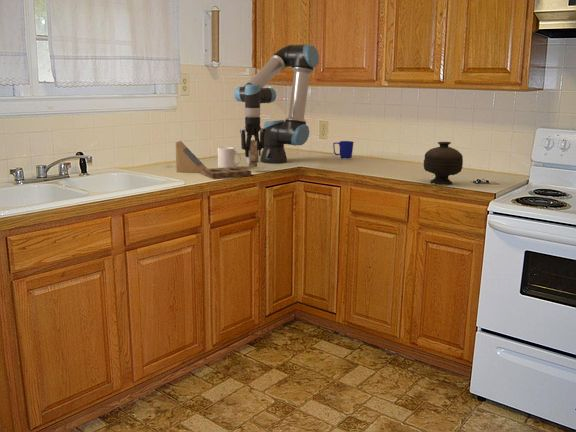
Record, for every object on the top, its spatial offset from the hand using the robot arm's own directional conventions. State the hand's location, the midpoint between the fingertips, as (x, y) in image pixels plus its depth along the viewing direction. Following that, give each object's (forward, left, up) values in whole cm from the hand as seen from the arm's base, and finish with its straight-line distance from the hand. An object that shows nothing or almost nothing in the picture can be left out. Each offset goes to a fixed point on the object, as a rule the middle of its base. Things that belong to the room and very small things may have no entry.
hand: (253, 162), depth 290 cm
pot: (-66, +65, -5) cm, 93 cm away
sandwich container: (+27, -11, -5) cm, 30 cm away
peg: (0, 0, -2) cm, 2 cm away
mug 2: (-73, -22, -5) cm, 76 cm away
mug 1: (+7, -13, -5) cm, 15 cm away
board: (+17, +4, -4) cm, 18 cm away
